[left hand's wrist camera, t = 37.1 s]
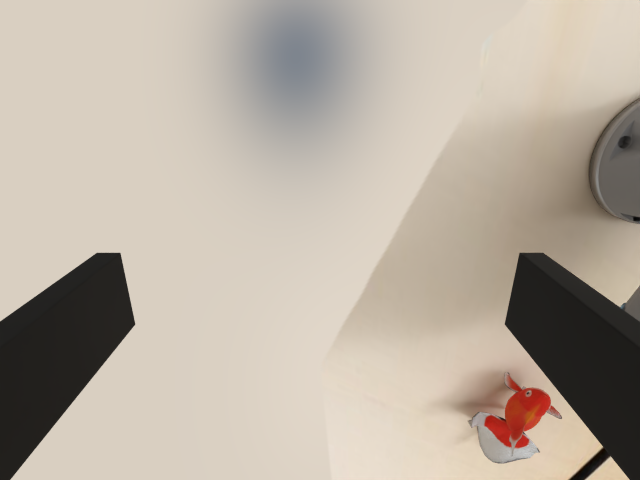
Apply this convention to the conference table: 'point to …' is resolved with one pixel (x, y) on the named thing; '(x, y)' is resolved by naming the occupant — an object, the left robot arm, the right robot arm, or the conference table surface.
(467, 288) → the conference table surface
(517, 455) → the fish
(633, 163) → the left robot arm
